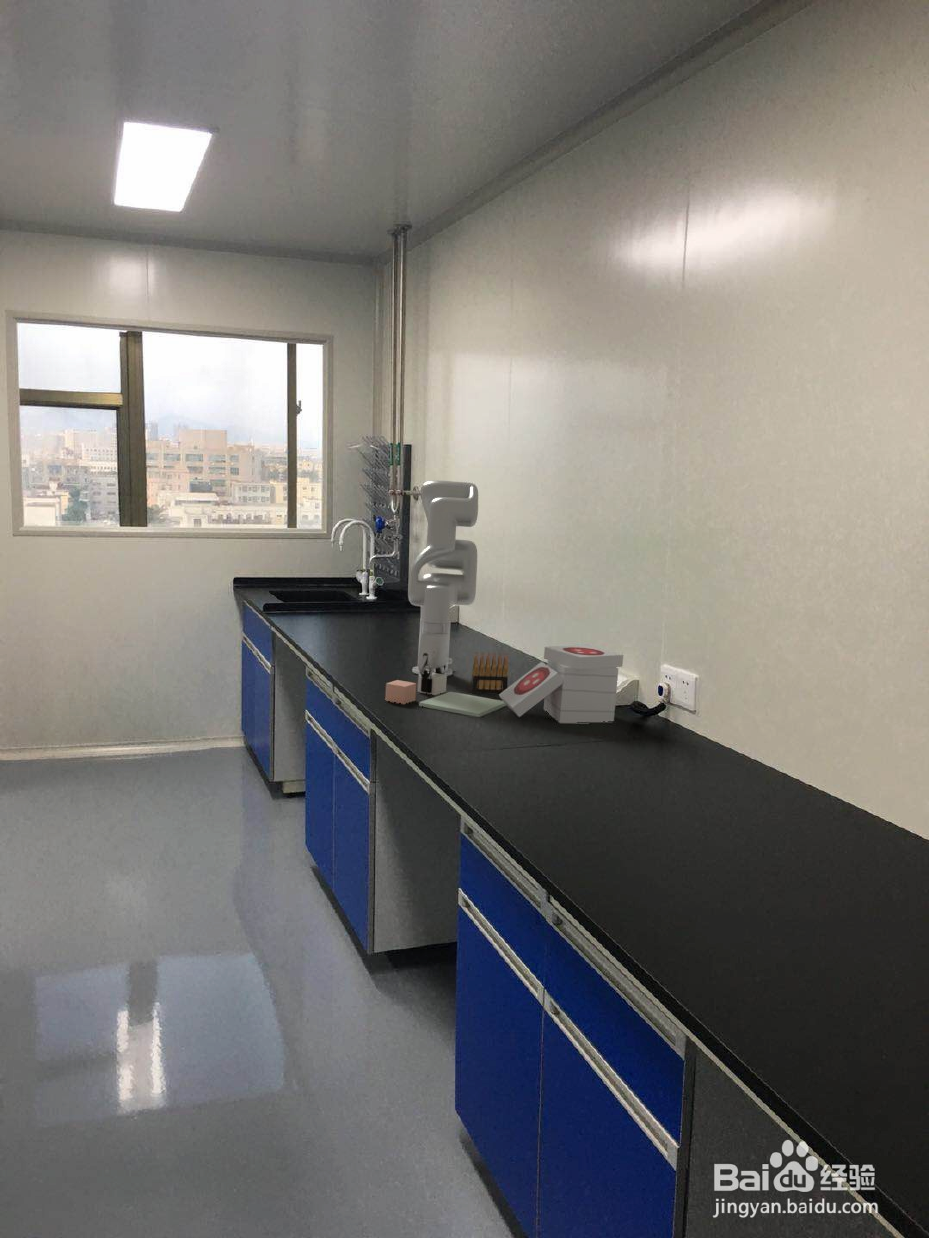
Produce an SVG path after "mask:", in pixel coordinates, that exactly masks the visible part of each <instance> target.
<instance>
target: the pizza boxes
mask: <svg viewBox="0 0 929 1238" xmlns="http://www.w3.org/2000/svg"><path fill="white" fill-rule="evenodd" d="M543 651H544V652H543V659H544V660H547V664H546V663H544V662H543V661H540V662H539V663H538V664H537V665H535V666H534V667H533V668H532V669H530V670H529V671H528V672H526V673H525V674H523V675H522V676H521V677H520V678H518V679H517V680H516V681H515V682H513V683H511V685H508V686H507V689H506V690H504V691H503V692H502V693H500V694H498V696H499V698H500V699H501V701H504V703H505V704H506V705H507V706H506V707H508V708H509V709H510V710H511V711H512V712H513V713H514V714H516V716H518V717H519V718H520V717H522V716H523V715H524V714H526V713H527V712H528V711H529V710H530V709H532V708H533V707H535V705H538V703H540V702H541V701H542V700H543V699H544V700H543V701H544V702H543V710H544V711H545V712H546V711H547V712H548V713H549V714H548V713H547V712H546V713H547V714H548V715H550V717H552V718H553V719H554V718H555V719H554V720H556V721H557V720H558V721H557V722H558V723H559V724H578V723H577V722H603V721H605V722H608V721H614V722H615V713H616V712H615V710H616V700H617V689H618V688H617V687H618V677H619V668H623V664H624V663H623V661H624V654H622V653H617V652H615V651H610V650H607V649H604V648H599V647H596V646H592V645H589V644H580V645H558V646H557V645H556V646H555V645H554V646H544V650H543Z"/></svg>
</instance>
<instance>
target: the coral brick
mask: <svg viewBox="0 0 929 1238" xmlns="http://www.w3.org/2000/svg"><path fill="white" fill-rule="evenodd" d="M416 691H417V683H415V682H411V681H404V680H401V679H400V680H399V679H396V680H393V681H390V682H386V683H385V698H384V701H385V700H386V701H385V702H388V701H390V702H389V703H394V702H396V703H395V704H399V703H401V704H400V705H406V703H407V704H409V702H410V703H412V701H413V702H415V701H416V695H417V693H416Z"/></svg>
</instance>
